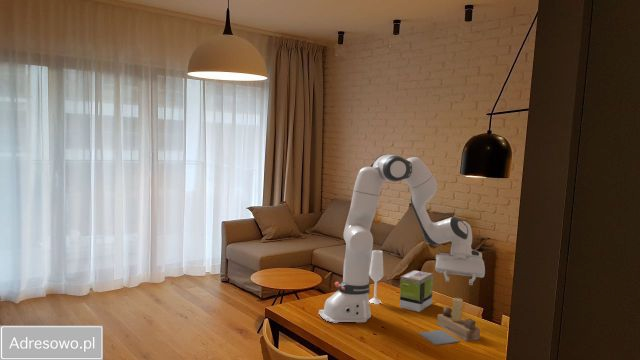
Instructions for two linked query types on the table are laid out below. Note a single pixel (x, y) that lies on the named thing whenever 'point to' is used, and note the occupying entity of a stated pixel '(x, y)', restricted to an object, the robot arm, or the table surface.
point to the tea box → (416, 290)
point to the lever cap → (457, 310)
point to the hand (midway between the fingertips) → (458, 282)
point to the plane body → (458, 326)
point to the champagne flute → (376, 272)
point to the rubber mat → (439, 337)
